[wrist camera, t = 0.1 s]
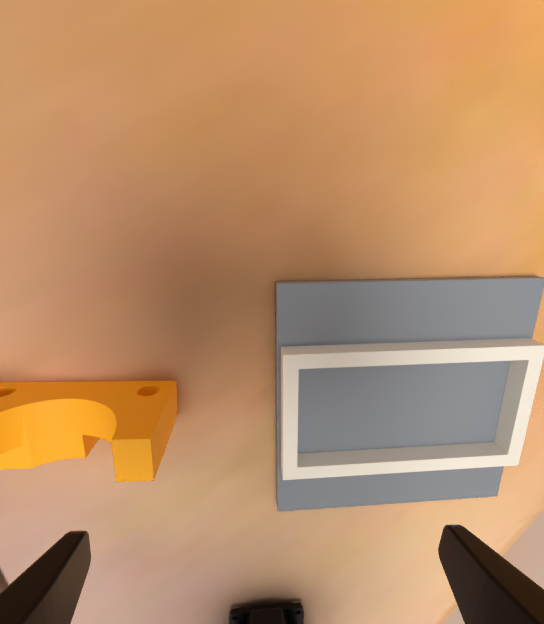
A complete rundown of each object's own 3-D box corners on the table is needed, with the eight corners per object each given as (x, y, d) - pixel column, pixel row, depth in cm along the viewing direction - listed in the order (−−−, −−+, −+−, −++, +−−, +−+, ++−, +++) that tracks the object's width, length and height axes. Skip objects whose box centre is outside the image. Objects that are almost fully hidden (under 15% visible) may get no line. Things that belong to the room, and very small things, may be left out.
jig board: (490, 488, 27) (510, 510, 25) (276, 502, 26) (279, 527, 24) (535, 275, 23) (565, 281, 20) (275, 281, 21) (278, 288, 19)
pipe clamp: (6, 436, 23) (-82, 515, 17) (-6, 381, 22) (-106, 444, 16) (179, 433, 24) (155, 507, 18) (176, 379, 23) (150, 438, 17)
